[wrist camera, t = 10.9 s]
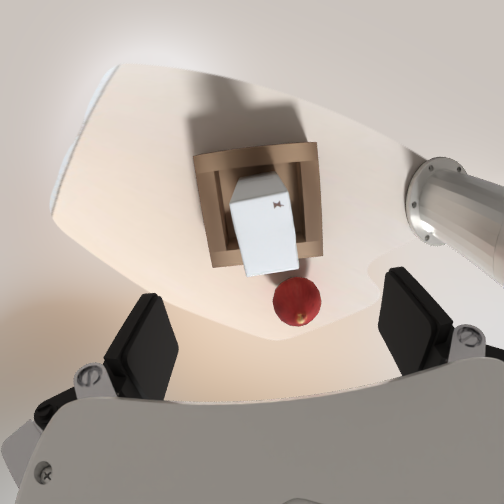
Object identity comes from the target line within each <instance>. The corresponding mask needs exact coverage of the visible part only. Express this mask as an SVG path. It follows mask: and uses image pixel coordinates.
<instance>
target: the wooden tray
mask: <svg viewBox="0 0 504 504" xmlns="http://www.w3.org/2000/svg"><path fill="white" fill-rule="evenodd" d="M193 160H194V166H195V173H196V179H197V185H198V191H199V197H200V203H201V208H202V214H203V220H204V225H205V231H206V236H207V241H208V247H209V252H210V257H211V262H212V267H213V268H216V267H226V266H235V265H244V264H243V260H242V256H241V252H240V248H239V244H238V240H237V237H236V233H235V229H234V225H233V220H232V215H231V210H230V206H229V203H230V200H231V198H232V195H233V192H234V190H235V187H236V185H237V182H238V179H239V178H240V177H245V176H250V175H255V174H260V173H266V172H272V171H276V172H277V174H278V176H279V177H280V179H281V180H282V182H283V184H284V185H285V187H286V188H287V190H288V192H289V197H290V203H291V209H292V215H293V222H294V228H295V234H296V245H297V252H298V259H300V258H309V257H318V256H323V235H322V209H321V191H320V175H319V162H318V151H317V142H300V143H286V144H275V145H265V146H255V147H247V148H239V149H231V150H224V151H218V152H211V153H205V154H200V155H196V156H193Z"/></svg>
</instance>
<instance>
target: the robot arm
mask: <svg viewBox="0 0 504 504" xmlns="http://www.w3.org/2000/svg"><path fill="white" fill-rule="evenodd" d="M406 212H407V218H408V222H409V225H410V227H411V229H412V231H413V232H414V234H415V235H416V236H417V237H418V238H419V239H420V240H421V241H423V242H424V243H426V244H428V245H431V246H442V245H445V244H447V245H448V246H449V247H451V248H453V249H454V250H455V251H457V252H458V253H460V254H461V255H462V256H463V257H465V258H466V259H467V260H469V261H470V262H471V263H473V264H474V265H475V266H477V267H478V268H479V269H480V270H482V271H483V272H484V273H486V274H487V275H488V276H489V277H491V278H492V279H493V280H494V281H495V282H497V283H498V284H499V285H500V286H502V287H503V288H504V187H503V186H500V185H498V184H495V183H492V182H489V181H486V180H483V179H480V178H476V177H473V176H470V175H467V173H466V171H465V170H464V168H463V167H462V166H461V165H460V164H459V163H458V162H457V161H455V160H453V159H450V158H446V157H436V158H432V159H430V160H428V161H426V162H425V163H424V164H422V165H421V166H420V167H419V169H418V170H417V171H416V173H415V174H414V176H413V178H412V180H411V183H410V185H409V188H408V193H407V199H406ZM452 324H453V320H452V319H451V318H450V317H449V316H448V315H447V313H446V312H445V311H444V310H443V309H442V308H441V307H440V305H439V304H438V303H437V302H436V301H435V300H434V299H433V298H432V297H431V295H430V294H429V293H428V292H427V291H426V290H425V289H424V288H423V287H422V286H421V285H420V284H419V283H418V281H417V280H416V279H415V278H413V276H412V275H411V274H410V273H409V272H408V271H407V270H406V269H405V268H404V267H396V268H390V270H389V272H387V273H386V275H385V282H384V289H383V296H382V303H381V310H380V316H379V322H378V329H379V332H380V334H381V335H382V337H383V339H384V341H385V343H386V345H387V347H388V349H389V351H390V352H391V354H392V356H393V358H394V360H395V362H396V364H397V366H398V368H399V370H400V372H401V374H402V376H401V377H397V378H393V379H390V380H386V381H382V382H378V383H373V384H369V385H364V386H360V387H355V388H350V389H345V390H339V391H334V392H327V393H321V394H314V395H308V396H299V397H291V398H281V399H271V400H256V401H236V402H186V401H185V402H184V401H164V397H165V393H166V390H167V387H168V383H169V380H170V377H171V373H172V370H173V367H174V364H175V361H176V357H177V354H178V350H179V349H178V343H177V341H176V338H175V335H174V332H173V329H172V327H171V324H170V321H169V318H168V315H167V312H166V309H165V306H164V303H163V300H162V298H161V297H160V296H158V295H157V294H156V293H148V294H142V296H141V297H140V299H139V300H138V302H137V303H136V305H135V306H134V308H133V310H132V311H131V313H130V314H129V316H128V318H127V319H126V321H125V322H124V324H123V326H122V327H121V329H120V330H119V332H118V334H117V336H116V337H115V339H114V341H113V342H112V344H111V345H110V347H109V349H108V351H107V353H106V354H105V356H104V360H105V361H104V363H103V365H102V364H100V363H89V364H86V365H84V366H83V367H81V368H80V369H79V370H78V371H77V372H76V374H75V376H74V387H72V388H70V389H68V390H66V391H64V392H62V393H60V394H58V395H56V396H54V397H52V398H50V399H48V400H46V401H44V402H43V403H41V404H40V405H39V406H38V407H37V409H36V410H35V413H34V421H32V420H31V419H30V420H29V421H27V422H26V423H25V424H24V425H23V426H22V427H20V428H19V429H18V430H17V431H16V432H14V433H13V434H12V435H11V436H10V437H8V438H7V439H6V440H5V441H4V443H3V445H2V450H1V452H2V456H3V458H4V460H5V462H6V465H7V466H8V469H9V471H10V473H11V475H12V477H13V479H14V481H15V483H16V484H17V486H18V488H19V491H18V494H17V498H16V502H15V504H504V350H503V349H499V348H496V347H492V346H489V345H486V340H485V336H484V334H483V332H482V331H481V330H480V329H478V328H477V327H475V326H472V325H467V324H464V325H460V326H457V327H456V328H454V327H453V325H452Z"/></svg>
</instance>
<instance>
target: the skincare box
mask: <svg viewBox="0 0 504 504" xmlns="http://www.w3.org/2000/svg"><path fill="white" fill-rule="evenodd" d="M229 206H230V210H231V215H232V220H233V225H234V229H235V233H236V237H237V240H238V244H239V248H240V252H241V256H242V260H243V264H244V268H245V272H246V276H247V277H250V276H256V275H263V274H269V273H276V272H282V271H288V270H295V269H298V268H299V260H298V252H297V245H296V234H295V228H294V222H293V215H292V209H291V203H290V197H289V192H288V190H287V188H286V187H285V185H284V184H283V182H282V180H281V179H280V177H279V176H278V174H277V172H276V171H272V172H266V173H260V174H255V175H250V176H245V177H240V178H239V179H238V182H237V185H236V187H235V190H234V192H233V195H232V198H231V200H230V203H229Z"/></svg>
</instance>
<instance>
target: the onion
mask: <svg viewBox="0 0 504 504" xmlns="http://www.w3.org/2000/svg"><path fill="white" fill-rule="evenodd" d="M273 306H274V310H275V313H276V314H277V316H278V317H279V318H280V319H281V321H283V322H285V323H286V324H288V325H290V326H298V327H299V326H303V325H307V324H308V323H309V322H310V321H312V320H313V319H314V318H315V316H316V315H317V314H318V313H319V310H320V307H321V297H320V292H319V290H318V289H317V287H316V286H315V284H314V283H313V282H312V281H310V280H308V279H307V278H302V277H293V278H289V279H287V280H286V281H284V282H282V283H281V284H280V285H279V286H278V287H277V288H276V290H275V293H274V297H273Z"/></svg>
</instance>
